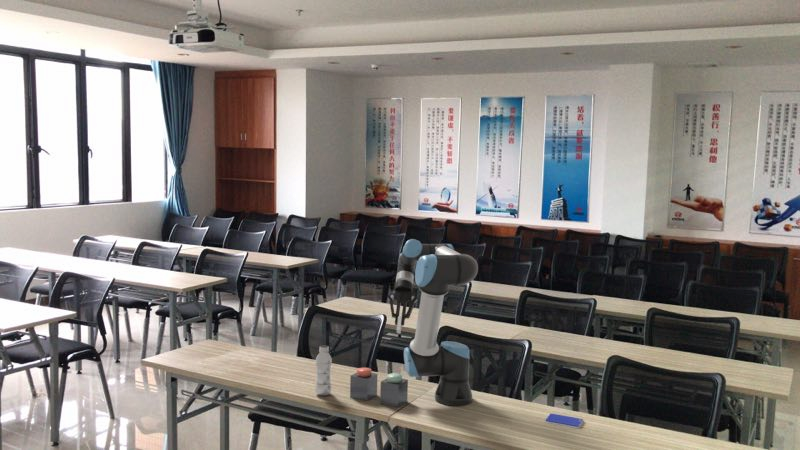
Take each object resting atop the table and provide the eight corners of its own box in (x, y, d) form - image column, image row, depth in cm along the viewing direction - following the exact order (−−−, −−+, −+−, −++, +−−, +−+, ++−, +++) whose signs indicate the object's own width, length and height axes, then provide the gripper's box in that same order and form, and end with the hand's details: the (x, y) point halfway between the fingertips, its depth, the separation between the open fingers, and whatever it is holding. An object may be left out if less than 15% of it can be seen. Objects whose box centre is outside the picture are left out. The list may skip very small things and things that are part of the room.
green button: (404, 398, 275) (404, 374, 274) (397, 402, 270) (397, 378, 269) (390, 395, 278) (391, 372, 277) (383, 400, 273) (384, 376, 272)
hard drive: (583, 418, 260) (550, 412, 265) (578, 425, 252) (545, 419, 258) (583, 422, 260) (550, 416, 265) (578, 429, 252) (545, 423, 258)
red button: (373, 392, 282) (374, 369, 281) (366, 396, 276) (366, 372, 275) (361, 389, 284) (361, 366, 284) (353, 393, 279) (354, 370, 278)
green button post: (407, 401, 276) (407, 379, 275) (398, 407, 269) (398, 385, 268) (389, 397, 279) (390, 376, 279) (380, 403, 272) (380, 381, 272)
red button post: (376, 395, 282) (377, 373, 281) (367, 401, 275) (367, 379, 274) (360, 391, 286) (360, 370, 285) (350, 397, 279) (350, 375, 278)
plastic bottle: (328, 398, 277) (329, 349, 276) (312, 396, 279) (313, 348, 277) (333, 392, 284) (334, 345, 282) (317, 391, 285) (318, 344, 283)
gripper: (419, 289, 297) (414, 337, 283) (389, 288, 299) (383, 335, 284) (418, 279, 292) (413, 327, 277) (388, 278, 293) (382, 326, 278)
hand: (398, 331), depth 281 cm, fingers closed
